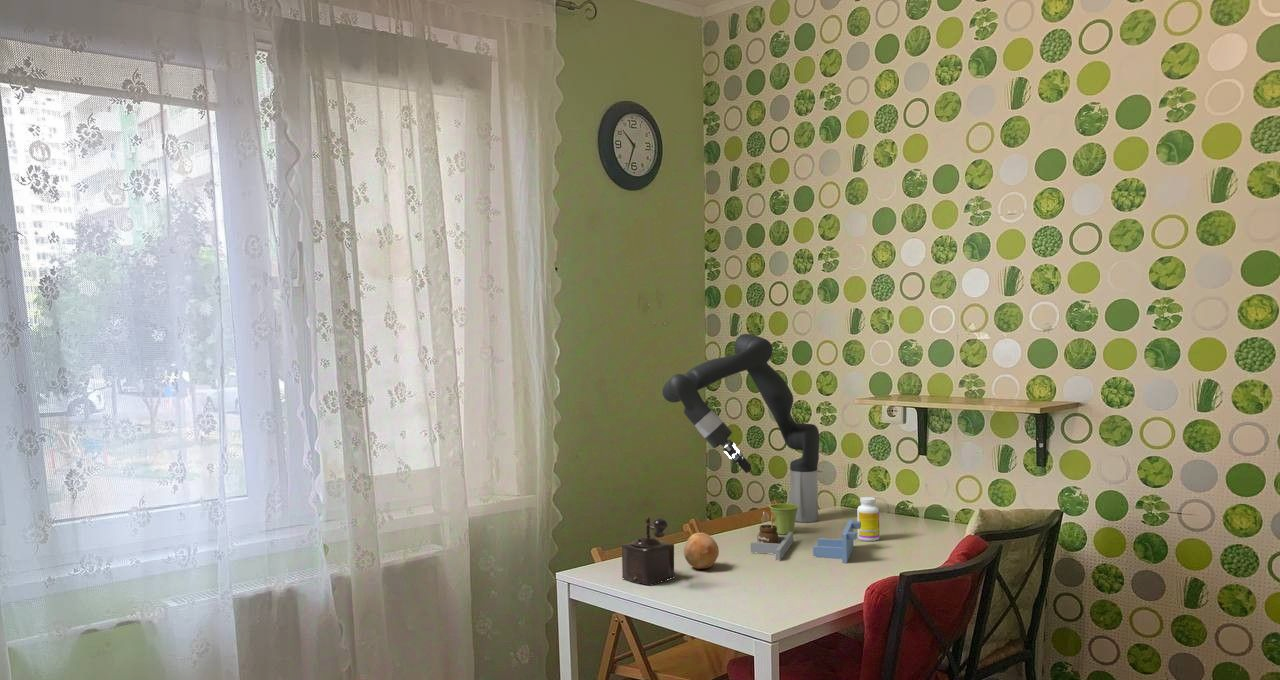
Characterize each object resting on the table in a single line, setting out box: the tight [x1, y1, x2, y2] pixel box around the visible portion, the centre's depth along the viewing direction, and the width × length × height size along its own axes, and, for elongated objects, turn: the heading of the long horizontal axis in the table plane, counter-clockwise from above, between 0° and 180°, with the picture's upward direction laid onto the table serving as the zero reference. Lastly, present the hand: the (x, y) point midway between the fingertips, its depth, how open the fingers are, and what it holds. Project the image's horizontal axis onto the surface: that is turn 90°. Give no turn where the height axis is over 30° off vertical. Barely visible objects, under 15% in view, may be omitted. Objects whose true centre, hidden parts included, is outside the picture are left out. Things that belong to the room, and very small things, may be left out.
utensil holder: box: [758, 511, 779, 544], centre depth 276 cm, size 6×6×12 cm
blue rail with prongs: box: [812, 519, 861, 564], centre depth 269 cm, size 12×20×8 cm, turn 162°
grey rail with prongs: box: [750, 532, 794, 561], centre depth 276 cm, size 10×24×3 cm, turn 161°
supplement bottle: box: [856, 496, 880, 542], centre depth 286 cm, size 7×7×13 cm
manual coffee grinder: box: [621, 516, 675, 586], centre depth 245 cm, size 16×11×18 cm
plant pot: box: [768, 503, 799, 535], centre depth 298 cm, size 9×9×9 cm
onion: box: [683, 532, 720, 570], centre depth 256 cm, size 10×10×10 cm
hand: (749, 469), depth 276 cm, fingers open, 8 cm apart
